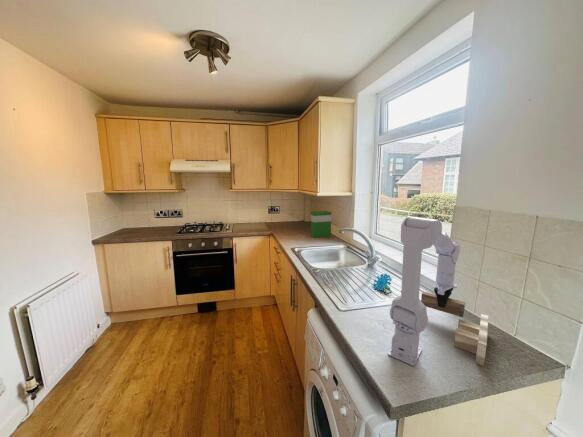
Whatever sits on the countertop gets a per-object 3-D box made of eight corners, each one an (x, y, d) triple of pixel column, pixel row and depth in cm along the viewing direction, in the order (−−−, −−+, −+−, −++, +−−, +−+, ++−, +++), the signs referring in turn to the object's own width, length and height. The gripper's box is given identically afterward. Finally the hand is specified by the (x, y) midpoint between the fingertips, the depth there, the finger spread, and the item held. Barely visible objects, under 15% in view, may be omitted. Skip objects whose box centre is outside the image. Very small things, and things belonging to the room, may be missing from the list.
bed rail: (463, 317, 90) (464, 305, 89) (420, 305, 99) (421, 293, 98) (463, 314, 92) (465, 302, 91) (422, 302, 101) (423, 291, 100)
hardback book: (327, 234, 243) (327, 210, 239) (330, 236, 236) (331, 211, 232) (310, 236, 238) (311, 211, 234) (313, 238, 231) (314, 212, 227)
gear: (369, 282, 130) (383, 269, 128) (376, 288, 131) (390, 276, 130) (379, 294, 119) (394, 280, 118) (386, 301, 121) (401, 287, 120)
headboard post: (483, 366, 74) (486, 345, 73) (452, 354, 79) (454, 334, 78) (485, 333, 89) (488, 315, 88) (459, 325, 94) (461, 308, 93)
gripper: (455, 280, 85) (451, 317, 87) (460, 268, 96) (456, 301, 98) (432, 275, 89) (429, 310, 92) (439, 265, 100) (436, 296, 103)
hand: (442, 305), depth 95 cm, fingers closed on bed rail, 2 cm apart
